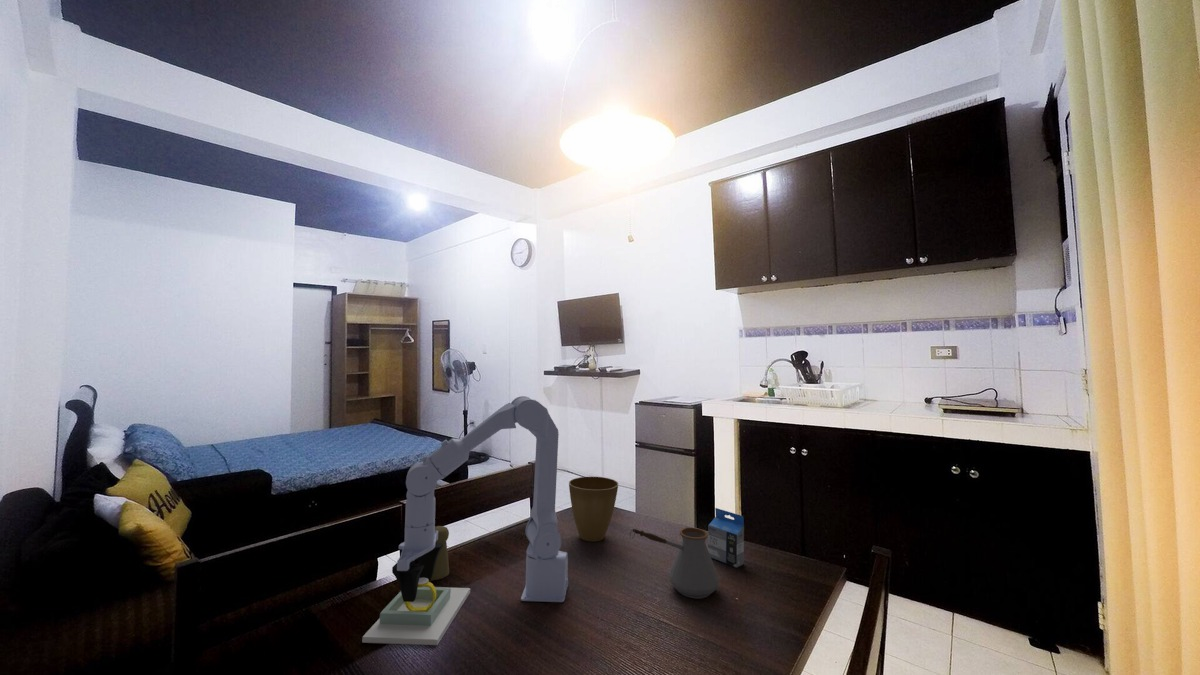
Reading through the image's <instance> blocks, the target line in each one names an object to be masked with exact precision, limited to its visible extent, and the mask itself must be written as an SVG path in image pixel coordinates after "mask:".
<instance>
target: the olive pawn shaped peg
mask: <svg viewBox="0 0 1200 675" xmlns="http://www.w3.org/2000/svg"><path fill="white" fill-rule="evenodd" d="M435 531H438V540H437V541H436V542H437V543H443V547H442V549H441V551H440V553H439V555H438V558H437V561H436V564H435V568H434V572H433V576H432V580H431V581H435V580H436V581H437V580H440V579H444V578H446V577H448V575H450V566H449V565H450V564H449V563H450V562H449V555H448V545H447V541H448V539H449V535H450V531H449V529H448V527H447V526H443V525H437V526H436V525H435Z"/></svg>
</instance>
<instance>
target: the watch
mask: <svg viewBox="0 0 1200 675" xmlns="http://www.w3.org/2000/svg"><path fill="white" fill-rule="evenodd" d="M418 587H428V588H430V590H431V591H432V593H433V601H432V603H431V604H430V605H428V606H427V607H414V606H412V605H411V604H410V602H404V603H405V606H406V608H407V609H408V610H409V611H419V612H424V611H425V612H426V611H428V610H429V609H430V608H431V607H432V606H433V603H434V601H435V599H436V588H435V587H436V586H435V585H434V584H433V583H432V582H431V581H430V582H429V580H428V578H419V582H418Z"/></svg>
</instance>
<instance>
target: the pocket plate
mask: <svg viewBox="0 0 1200 675" xmlns="http://www.w3.org/2000/svg"><path fill="white" fill-rule="evenodd" d="M434 587H435V588H436V599H435V601H434V603H433V606H432V607H431V608H430V609H429V610H428V611H426V612H425V611H424V612H419V611H409V610H408V609H407V608H406V606H405V603H404V601H403V598H402V594H401V590H400V591H399V592H398V594H397V595H395V597H393V598H392V600H391V601H390V602H389V603H388V604H387V605H386V606H385V607H384V608H383V609H382V610H381V612H380V613H379V618H378V619H377V621H375V623H374V624H372V626H371V627H370V628H369V629H368V630H367V631H366V632H365V634H364V635H363V636H362V638H361V639H362V640H361V641H362V642H361V643H367V644H388V645H389V644H392V645H417V646H418V645H419V646H421V645H422V646H439V643H440V642H441V640H442V639H443V637H444V635H445V634H446V632H447V631H448V629H449V627H450V626H451V624H452V623H453V621H454V619H455V618H456V616H457V614H458V613H459V611H460V610H461V608H462V606H463V605H464V603H465V601H467V598H468V597H469V595H470V594H471V588H469V587H444V586H434ZM432 601H433V593H432V591H431V590H430V588H428V587H427V586H424V587H418V588H417V594H416V598H415V600H414V602H410V604H411V605H412V606H414V607H427V606H428V605H430V604H431V603H432Z"/></svg>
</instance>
